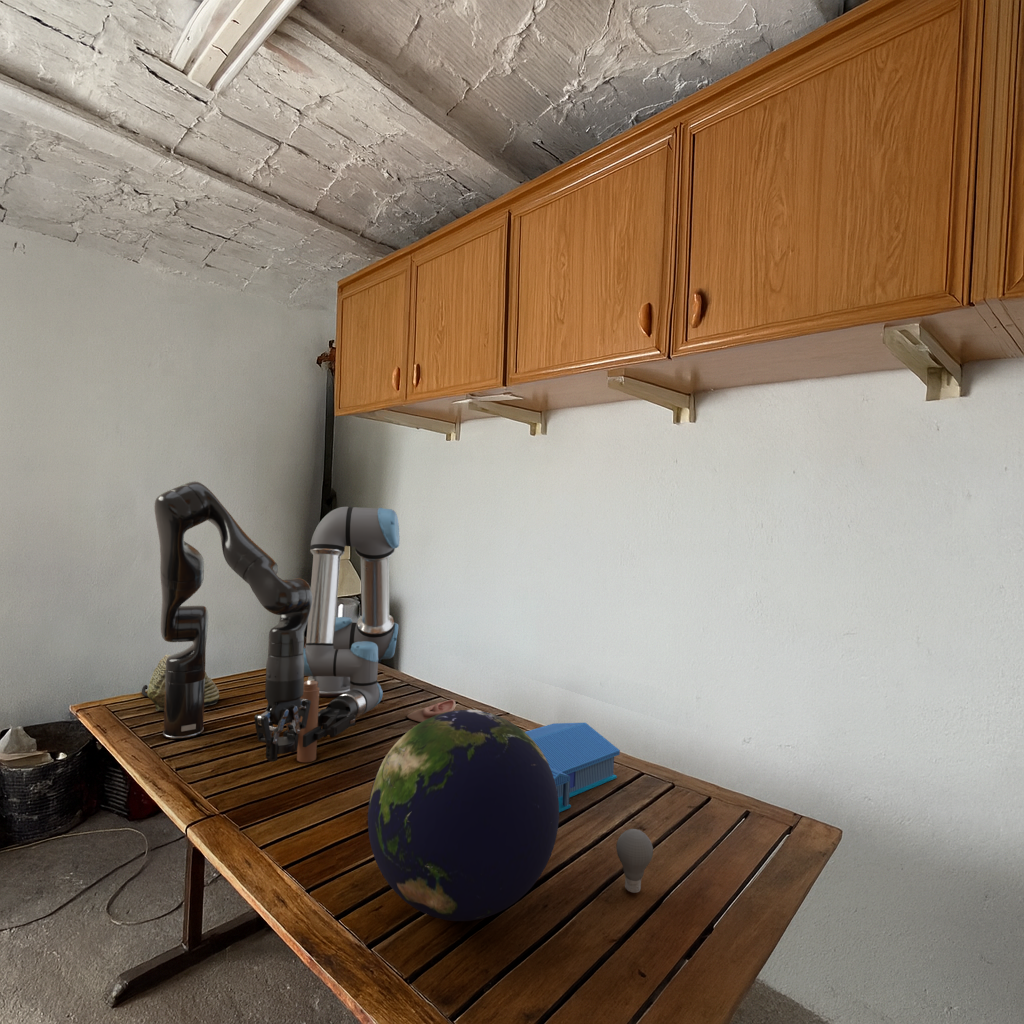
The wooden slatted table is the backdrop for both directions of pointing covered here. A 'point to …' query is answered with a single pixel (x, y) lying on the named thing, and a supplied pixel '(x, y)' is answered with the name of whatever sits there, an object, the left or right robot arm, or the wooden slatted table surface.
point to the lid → (285, 745)
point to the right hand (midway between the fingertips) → (294, 739)
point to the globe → (463, 815)
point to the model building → (575, 757)
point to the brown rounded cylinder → (309, 722)
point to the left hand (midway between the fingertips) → (282, 755)
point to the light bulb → (634, 857)
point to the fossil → (158, 687)
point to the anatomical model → (432, 711)
